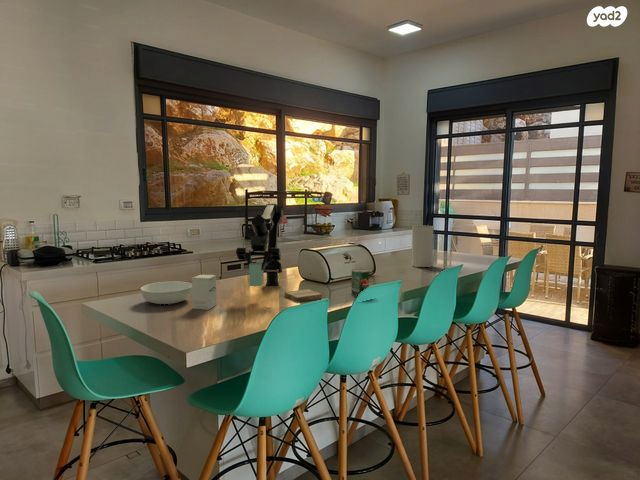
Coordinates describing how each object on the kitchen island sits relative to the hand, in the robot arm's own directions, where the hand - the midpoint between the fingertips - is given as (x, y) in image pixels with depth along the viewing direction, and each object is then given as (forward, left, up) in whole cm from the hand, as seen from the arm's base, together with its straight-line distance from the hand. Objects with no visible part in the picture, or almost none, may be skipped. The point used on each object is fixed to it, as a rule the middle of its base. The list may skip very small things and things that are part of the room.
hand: (255, 269), depth 188 cm
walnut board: (-5, +20, -14) cm, 25 cm away
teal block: (-1, 0, -7) cm, 7 cm away
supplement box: (+8, -20, -14) cm, 25 cm away
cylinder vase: (-81, +97, -14) cm, 127 cm away
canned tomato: (-9, +46, -14) cm, 49 cm away
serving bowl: (-2, -37, -14) cm, 40 cm away
